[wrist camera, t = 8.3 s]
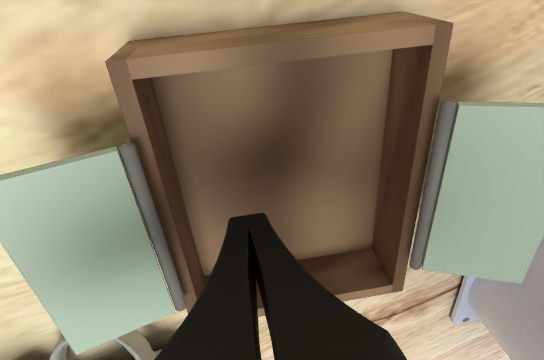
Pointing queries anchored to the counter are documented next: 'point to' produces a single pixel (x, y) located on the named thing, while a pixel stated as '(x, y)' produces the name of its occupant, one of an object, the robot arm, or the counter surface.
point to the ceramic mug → (130, 341)
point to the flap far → (483, 191)
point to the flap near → (90, 244)
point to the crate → (289, 140)
